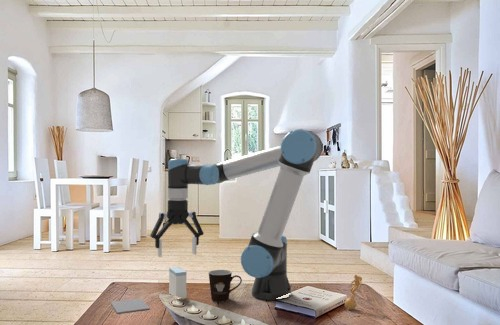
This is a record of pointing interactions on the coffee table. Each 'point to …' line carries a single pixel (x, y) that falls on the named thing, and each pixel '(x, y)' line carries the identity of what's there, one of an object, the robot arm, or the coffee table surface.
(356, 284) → the figurine
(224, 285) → the coffee mug
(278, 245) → the robot arm
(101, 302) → the coffee table surface
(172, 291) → the slab
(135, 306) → the felt mat
